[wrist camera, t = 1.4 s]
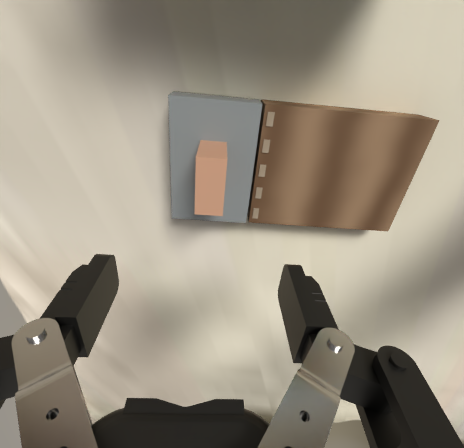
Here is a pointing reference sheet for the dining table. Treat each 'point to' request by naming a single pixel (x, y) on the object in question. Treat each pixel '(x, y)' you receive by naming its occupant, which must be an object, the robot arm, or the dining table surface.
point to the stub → (212, 155)
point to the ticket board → (334, 165)
